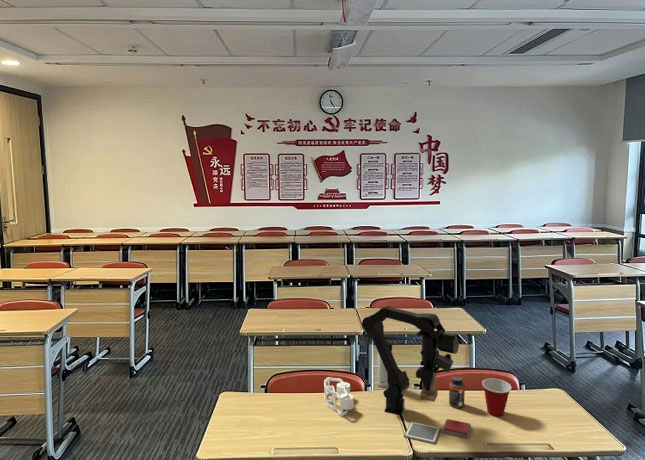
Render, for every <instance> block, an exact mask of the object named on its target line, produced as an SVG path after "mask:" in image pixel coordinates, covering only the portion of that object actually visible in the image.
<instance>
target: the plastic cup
mask: <svg viewBox="0 0 645 460" xmlns="http://www.w3.org/2000/svg"><path fill="white" fill-rule="evenodd" d="M481 384H482V388H483V392H484V398H485V402H486V404H485V405H486V409H487V413H488V415H489V416H492V417H497V418H499V417H502V416H504V414H505V409H506V407H507V402H508V398H509V395H510V391H511V390H512V389H513V388H512V386H511V384H510V383H509V382H507V381H505V380H502V379H498V378H492V377H490V378H485V379H484V380H482V382H481Z"/></svg>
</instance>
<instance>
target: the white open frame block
mask: <svg viewBox="0 0 645 460" xmlns="http://www.w3.org/2000/svg"><path fill="white" fill-rule="evenodd" d="M330 382H338V383H337V384H336V389H335V386H334V385H330ZM323 385H324V386H323V387H324V392H323V393H324V395H323V396H324V399H323V400H324V404H325V405H326V407H328V408H329V409H331V410H333V411H336V412H337V414H338V416H340V417H344V416H346V415H347V414H348V410H352V409H354V408H355V407H354V402H355V400H354V399H355V398H354V395H353V394H351V384H350V383H349V382H346V381H343V379H342V378H338V377H337V378H336V377H331V376H330V377H329V376H328V377H326V378H325V379H324V380H323ZM330 394H331V395H330ZM328 395H330V396H332V397H331V399H329V400H328ZM336 397H337V399H338V401H339V408H340V409H339V408H338V407H336ZM344 410H345V411H344Z"/></svg>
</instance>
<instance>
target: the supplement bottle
mask: <svg viewBox="0 0 645 460" xmlns="http://www.w3.org/2000/svg"><path fill="white" fill-rule="evenodd" d="M448 392H449V394H448V395H449V397H448V403H449V406H450V407H452V408H454V407H455V409H461V408H463V407H465V393H466V391H465V384H464V382H463V378H462V377H460V376H452V378H451V382H450V383H449V391H448Z"/></svg>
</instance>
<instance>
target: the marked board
mask: <svg viewBox="0 0 645 460" xmlns="http://www.w3.org/2000/svg"><path fill="white" fill-rule="evenodd" d="M441 431H442V427H439V426H434V425H430V424H426V423H420V422H415V421H410V423H409V425H408V426H407V429H406V431H405V433H404V435H403V438H406V439H411V440H415V441H420V442H424V443H428V444H433V445H436V443H437V440H438V437H439V436H440V433H441Z"/></svg>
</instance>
